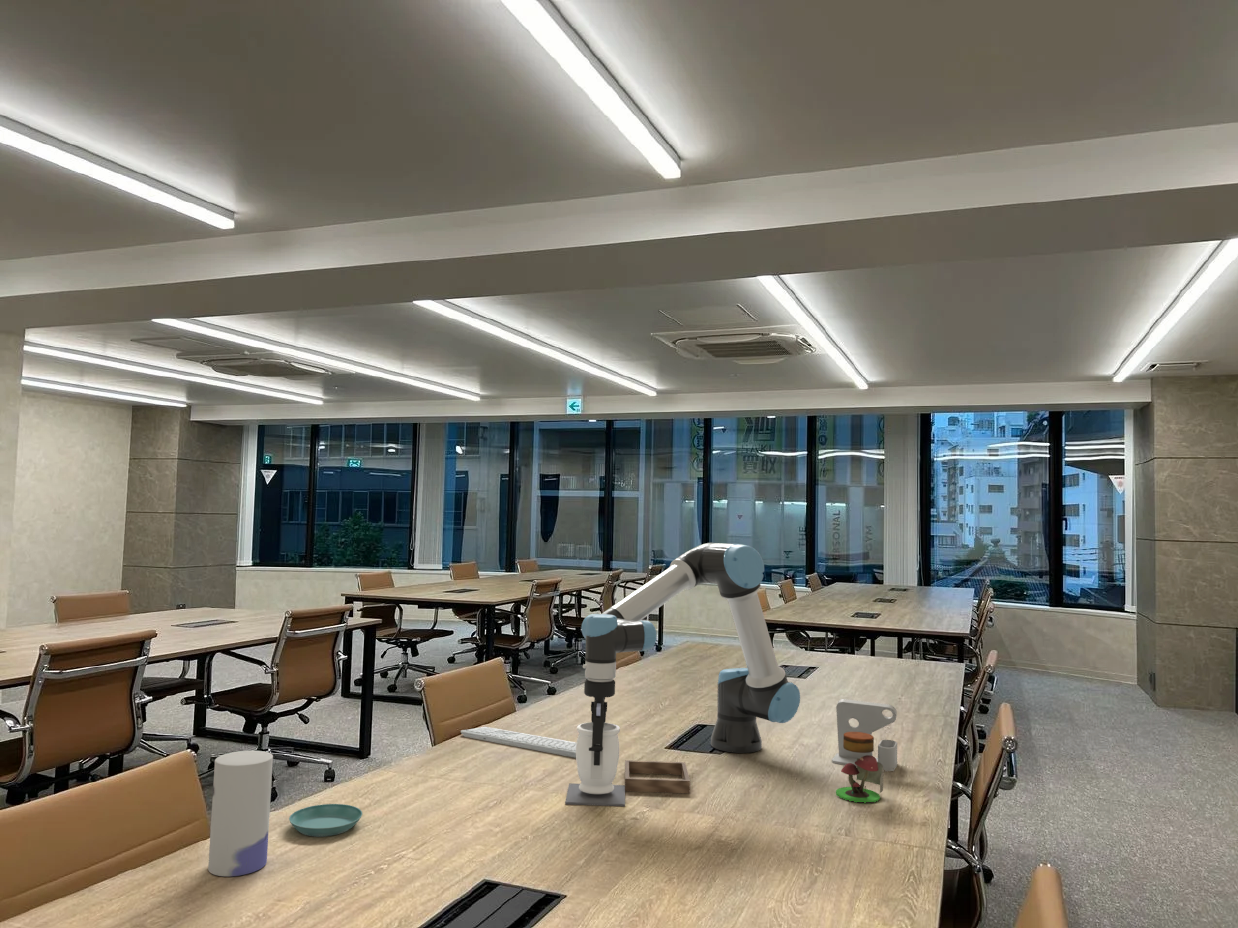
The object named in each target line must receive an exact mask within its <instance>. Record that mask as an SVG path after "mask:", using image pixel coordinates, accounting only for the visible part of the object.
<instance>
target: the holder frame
mask: <svg viewBox="0 0 1238 928" xmlns="http://www.w3.org/2000/svg"><path fill="white" fill-rule="evenodd" d="M630 774H649V775H672V776H673V775H674V776H679V775H680V776H681V779H676V778H675V779H673V778H670V779H669V778H654V777H653V778H650V777H649V778H648V777H645V778H644V777H630ZM624 785H625V792H636V793H637V792H638V793H639V792H640V793H666V794H667V793H668V794H691V793H690V791H691V790H690V789H691V780H690V776H689V772H688V768H687V764H686V762H685V761H661V760H660V761H659V760H656V761H655V760H631V759H630V760H629V759H625V760H624Z"/></svg>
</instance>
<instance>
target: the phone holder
mask: <svg viewBox="0 0 1238 928" xmlns="http://www.w3.org/2000/svg"><path fill="white" fill-rule="evenodd" d="M835 708H836V709H835V710H836V726H837V745H838V746H837V747H838V752H837V753H835V754H834V756H833V757H832V759H831V763H833V764H835V765H844V766H845V765H846V764H848V763H852V764H854V765H855V766H856V767H857V765H856V764H855V761H857V758H861V757H863V756H866V755H871V756H873V754H874V753H873V752H870V753H857V752H851V751H848V750H846V749H844V748H843V738H844V733H846V732H862V733H867V734H870V735H872V736H873V734H872V733H874V732H876V731H878V730H880V729H884V728H885V727H887V726H889V725H891V724H893V723H895V722H896V720H897V717H898V716H897V715H898V714H897V708H895V706H894V705H892V704H887V703H881V702H880V703H879V702H872V701H871V702H870V701H863V700H855V699H848V698H847V699H846V698H841V699H839V700H838V701H837V703H836V707H835ZM886 710H887V711H890V712H891V714H892V715H891V716H886V715H884V714H883V712H884V711H886ZM851 719H852V720H853V719H854V720H856V721H857V722H858V725H857V726H852V725H851V724H850V722H849V721H850V720H851ZM873 757H874V756H873ZM875 758H876V760H877V762H879V763H881V764H882V765H883V770H885V771H884V772H888V771H894V770H896V769H895V768H897V766H898V742H897V741H895V740H892V739H881V740H880V741H879V743H878V745H877V757H875ZM894 772H895V771H894Z"/></svg>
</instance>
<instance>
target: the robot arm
mask: <svg viewBox="0 0 1238 928" xmlns="http://www.w3.org/2000/svg"><path fill="white" fill-rule="evenodd" d="M764 572H765V563H764V561H763V558H762V556H761V554H760V553H759V551H758V550H757V549H755V548H754V547H753V546H750V545H748V544H747V545H746V544H742V543H721V542H719V543H718V542H707V543H703V544H700V545H697V546H695V547H693V548H691V549H690V550H688V551H686V552H684V553H682V554H681V555H679V556H678V557H676V558H675V559H673V560H672V561H671V563H670V565H669V567H668V568H666V569H665V570H664V571H662V572H661V573H659V574H658V575H656V576H655V577H653V578H651V579H650V580H649V581H648V582H646V583H645V584H643V585H642V586H640V587H639V588H637V589H636V590H634V591H633V592H632V593H629V595H628V594H627V596H626V597H624V598H623V599H621V600H620V601H619V602H617V603H615V604H613V605H612V606H610V607H609V608H608V609H605V611H604V612H602V613H591V614H588V615H587V616H586V617H585V618H584V619H583V621H582V623H581V633H582V636H583V637H584V639H585V664H584V663H583V665H582V668H583V669H584V677H585V678H586V679H585V680H584V685H583V686H584V690H583V694H584V695H585V696H586V697H590V698H593V699H594V701H591V703H590V711H591V720H590V722H592V723H593V734H592V747H591V748H589V751H591V779H602V765H603V746H602V745H603V728H604V723H606V719H607V712H608V701H605V700H606V698H611V697H613V696H615V694H616V681H615V680H614V679H615V678H616V674H617V673H616V672H617V654H620V653H630V652H643V651H649V650H651V649H652V648H654V646H655V644H656V642H657V630H656V629H657V628H656V627H655V626H654V624H653V623H652V622H651V621H649V620H644V619H645V618H646V617H648V616H649V615H650V614H652V613H653V612H655V611H656V610H657V609H659V608H661V607H662V606H663V605H665V604H667V602H669V601H670V600H671V599H673V598H675V597H676V596H677V595H679V594H681V593H682V592H683V591H685V590H692V589H694V588H695V587H697V586H699V585H702V584H714V585H717V588H718V592H719V595H720V597H721V598H723V599H724V600H727V603H728V606H729V609H730V612H731V616H732V620H733V623H734V626H735V631H736V635H737V636H738V641H739V644H740V648H741V651H742V655H743V657H744V661H745V666H746V667H737V668H736V667H735V668H732V667H731V668H724V669H722V670H720V671H719V674H718V680H717V681H718V682H717V716H716V722H715V724H714V727H713V731H712V734H711V736H710V745H711V747H712V748H714V749H716V750H719V751H722V752H728V753H736V754H749V753H756V752H759V751H760V750H761V749H762V744H763V743H762V741H763V740H762V738H761V734H760V730H759V726H758V724H757V718H758V719H762V720H765V721H769V722H771V723H778V724H786V723H788V722H790V721H791V720H792V719H793V718H794V717H795V716H796V714H797V712H798V710H799V707H800V703H801V693H800V689H799V687H798V686H797V684H795V683H793V682H791V681H789V680H788V677H787V673H786V672H785V669H784V668H783V667H781V666H779V665H778V661H777V658H776V655H775V654H776V653H775V651H774V647H773V644H772V639H771V637H770V633H769V631H768V626H767V623H766V619H765V615H764V612H763V609H762V605H761V602H760V597H759V594H758V591H759V590H760V588H761V583H762V581H763V578H764V574H763V573H764ZM595 744H599V745H595Z"/></svg>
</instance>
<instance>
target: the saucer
mask: <svg viewBox="0 0 1238 928" xmlns="http://www.w3.org/2000/svg"><path fill="white" fill-rule="evenodd" d="M362 816H363V811H362V810H361V809H360V808H359V807H357V806H354V805H349V804H343V803H324V804H317V805H316V804H315V805H310V806H307V807H304V808H301V809H298V810H296V811H294V812H293V813H292V814H291V815H289V817H288V820H289V822H290V825H291V826H292V827H293V828H294V829H295V830H296V831H298V833H300V834H301V835H304V836H308V837H320V838H321V837H330V836H337V835H341V834H343V833H346V832H348V831H350V830H351V829H352V828H353V827H354V826H355V825H356V824H357V823H359V820H360V819H362ZM349 829H350V830H349Z"/></svg>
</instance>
